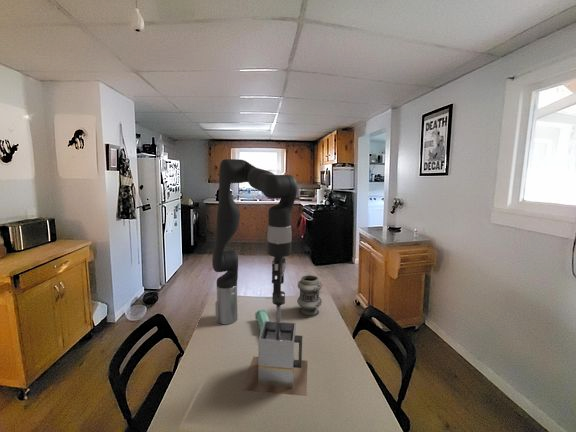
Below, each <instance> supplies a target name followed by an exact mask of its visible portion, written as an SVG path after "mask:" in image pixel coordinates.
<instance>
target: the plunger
mask: <svg viewBox="0 0 576 432" xmlns="http://www.w3.org/2000/svg"><path fill="white" fill-rule="evenodd" d="M271 300H272V302H271V303H272V304H273V305H276V312H275V313H276V314H275V315H276V316H275V319H276V320H275V321H276V332H267V335H266V339H273V340H287V341H291V336H292V333H282V332H280V322H282V321H281V319H282V317H281V316H282V314H281V311H282V308H281V307H282V306H283V305H284V304H285V303H286V302H285V301H286V292H285V291H282V290H281V294H280V295H274V294H273V293H272V299H271Z"/></svg>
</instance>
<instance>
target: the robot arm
mask: <svg viewBox="0 0 576 432" xmlns="http://www.w3.org/2000/svg"><path fill="white" fill-rule="evenodd" d="M218 171H219V172H218V175H219V176H218V207H217V213H216V229H215V240H214V246H213V252H212V259H211V260H212V261H211V262H212V268H213V271H215V272H216V273H222V272H223V273H224V272H225V273H224V274H222V275H220V276H219V277H218V278H217V279H216V302H215V303H214V304H215V305H214V306H215V322H216V323H219V324H220V325H231V324H234V323H235V322H237V321H238V314H239V313H238V278H239V277H238V276H239V275H238V273H239V256H238V253H237V251H236V250H235V249H228V250H225V249H226V246H227V245H228V243H229V242H230V240H231V239H233V237H234V235H235V234H236V233H237V231H238V229H239V226H240V218H241V217H240V215H241V213H240V209H239V208H238V207H239V206H238V205H237V204H236V202H235V200H234V199H233V197H232V196H233V195H232V193H231V185H232V184H243V183H248V184H249V186H251V188H254V189H255V190H256V191H257V190H258V191H260V192H261V193H262V194H263V196H265V197H266V198H269V199H280V200H279V202H278V204H276V205H272V206H270V207H269V208H268V215H267V216H268V222H267V223H268V224H267V225H268V227H267V248H266V249H267V255H268V256H270V257H273V259H272V261H271V267H272V268H271V284H273V285H272V287H273V289H272V295H273V294H274V295H280V294H281V291H282V284H284V282H285V281H284V279H285V274H284V273H285V269H286V261H287V259H286V257H289V256H291V255H292V240H293V239H292V235H293V233H292V212H293V208H294V206H295V205H294V204H295V201H296V198H297V193H298V182H297V180H296V178H295V177H294V175H291V174H274V173H273V172H271V171H269V170H265V169H263V168H259V167H256V166H255V165H253V164H251V163H250V162H248V161H247V160H245V159H239V158H238V159H237V158H236V159H231V158H228V159H227V158H225V159H223V160H221V161H220V164H219V170H218Z"/></svg>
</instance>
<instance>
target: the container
mask: <svg viewBox="0 0 576 432" xmlns="http://www.w3.org/2000/svg"><path fill="white" fill-rule="evenodd" d="M255 320H257V321H256V322H257V325H258V328H259V331H260V333H261V330H262V327H263V324H264V321H270V319H269V317H268V311H266V310H265V309H259V310H256V312H255Z"/></svg>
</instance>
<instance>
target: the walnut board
mask: <svg viewBox="0 0 576 432" xmlns="http://www.w3.org/2000/svg"><path fill="white" fill-rule="evenodd" d="M308 362H309V361H308V360H304V359H302V366H301V368H294V378H293V388H285V387H273V386H262V385H258V356H254V355H253V357H252V360H251V362H250V366H249V369H248V372H247V376H246V378H245V382H244V384H243V388H242V391H247V392H260V393H268V394H269V393H272V394H282V395H283V394H284V395H292V396H305V397H306V396H307V395H308V393H307V392H308Z"/></svg>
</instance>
